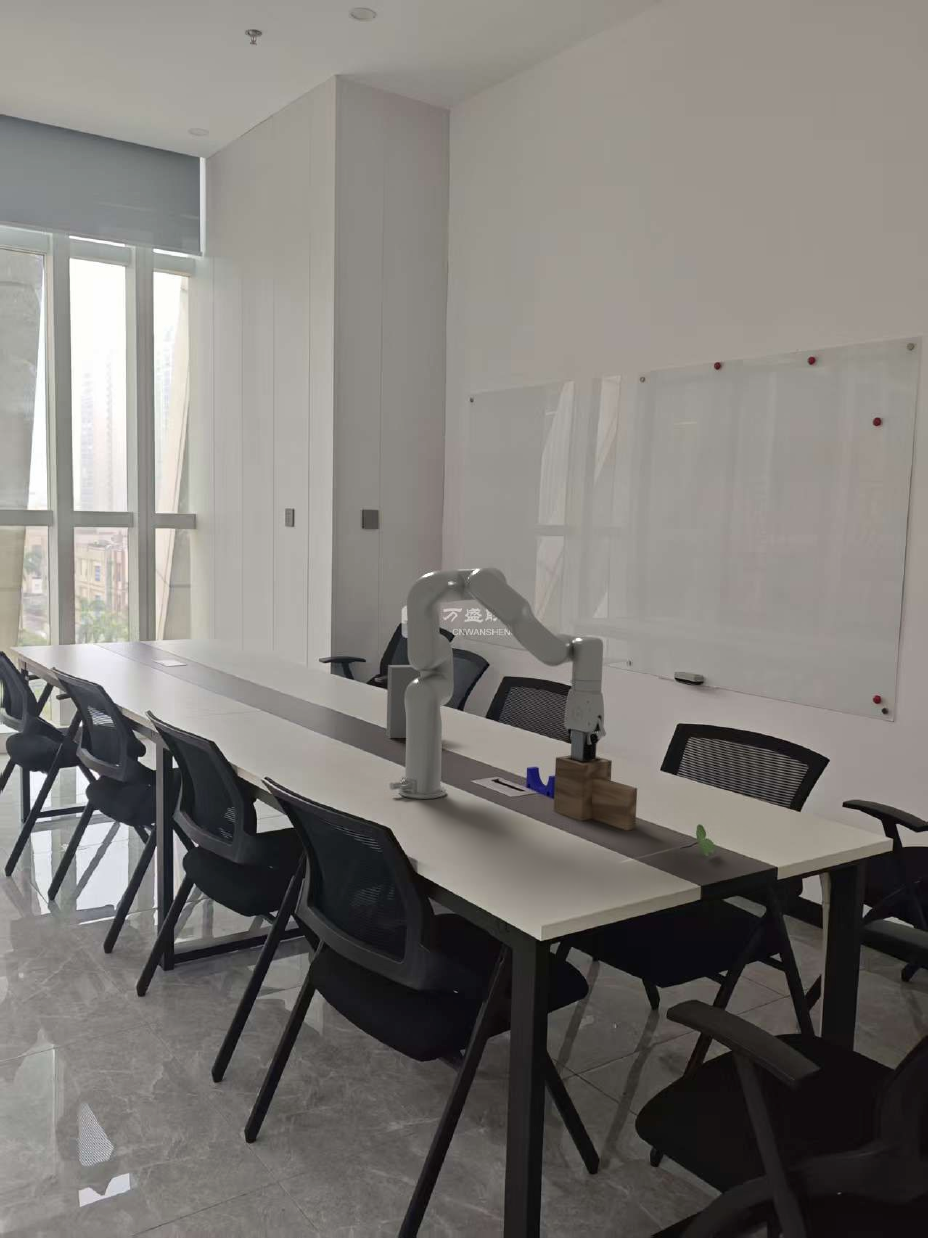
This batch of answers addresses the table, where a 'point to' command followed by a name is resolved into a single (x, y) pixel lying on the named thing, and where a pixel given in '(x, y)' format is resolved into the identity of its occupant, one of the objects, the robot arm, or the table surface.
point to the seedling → (703, 841)
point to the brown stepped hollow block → (593, 793)
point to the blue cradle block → (539, 782)
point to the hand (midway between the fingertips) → (583, 756)
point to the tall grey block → (398, 698)
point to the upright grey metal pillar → (579, 746)
